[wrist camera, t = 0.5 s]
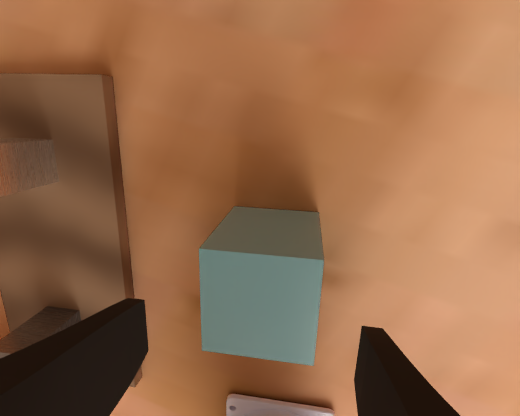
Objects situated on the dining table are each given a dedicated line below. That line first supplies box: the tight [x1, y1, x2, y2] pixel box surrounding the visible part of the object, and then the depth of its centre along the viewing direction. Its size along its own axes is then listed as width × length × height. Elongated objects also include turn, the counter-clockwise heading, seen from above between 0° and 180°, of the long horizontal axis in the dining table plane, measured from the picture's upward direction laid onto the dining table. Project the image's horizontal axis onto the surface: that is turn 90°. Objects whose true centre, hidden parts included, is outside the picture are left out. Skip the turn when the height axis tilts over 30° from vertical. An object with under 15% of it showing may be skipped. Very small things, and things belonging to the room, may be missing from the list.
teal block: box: [199, 206, 324, 366], centre depth 17 cm, size 5×5×7 cm
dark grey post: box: [0, 306, 81, 358], centre depth 21 cm, size 3×3×4 cm
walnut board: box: [0, 73, 142, 387], centre depth 22 cm, size 22×10×1 cm, turn 179°
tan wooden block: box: [0, 138, 59, 197], centre depth 17 cm, size 3×3×4 cm
